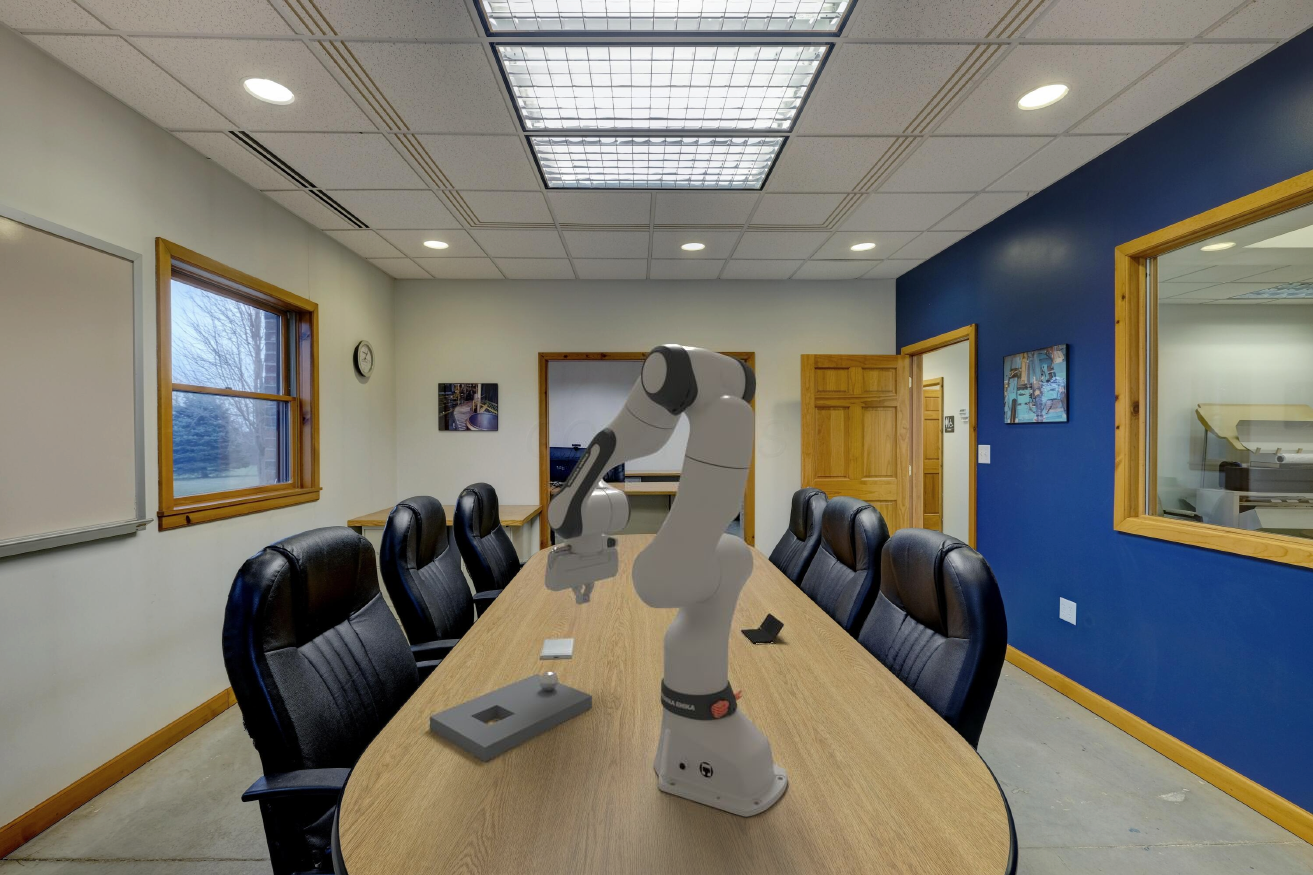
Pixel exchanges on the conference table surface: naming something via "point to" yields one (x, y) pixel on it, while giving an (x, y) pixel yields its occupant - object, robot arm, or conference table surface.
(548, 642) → the hard drive
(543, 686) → the steel ball
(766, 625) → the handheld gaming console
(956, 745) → the conference table surface
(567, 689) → the board
